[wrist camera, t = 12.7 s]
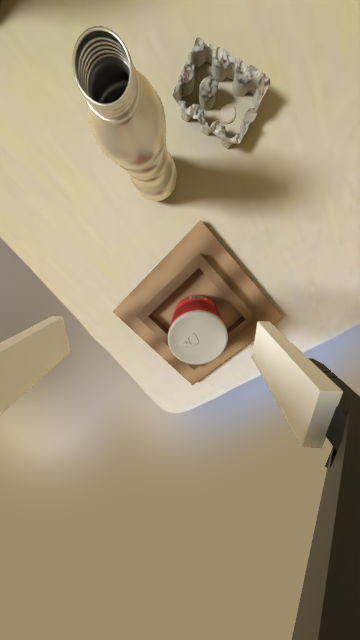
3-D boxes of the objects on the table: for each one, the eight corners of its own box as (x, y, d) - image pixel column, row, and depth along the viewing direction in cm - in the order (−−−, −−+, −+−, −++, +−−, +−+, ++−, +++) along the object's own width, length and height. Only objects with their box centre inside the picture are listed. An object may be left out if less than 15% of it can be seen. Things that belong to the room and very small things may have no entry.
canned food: (165, 311, 36) (155, 335, 26) (200, 284, 34) (205, 298, 24) (190, 341, 38) (190, 375, 27) (225, 317, 36) (239, 344, 26)
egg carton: (264, 103, 27) (276, 79, 23) (231, 160, 30) (237, 146, 26) (200, 49, 26) (201, 14, 22) (170, 113, 28) (167, 92, 24)
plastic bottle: (166, 212, 32) (131, 157, 13) (128, 189, 31) (35, 97, 12) (185, 171, 30) (177, 36, 11) (146, 145, 29) (66, -45, 10)
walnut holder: (115, 309, 38) (108, 315, 35) (200, 221, 32) (201, 218, 29) (192, 380, 43) (192, 391, 39) (279, 314, 37) (287, 321, 33)
